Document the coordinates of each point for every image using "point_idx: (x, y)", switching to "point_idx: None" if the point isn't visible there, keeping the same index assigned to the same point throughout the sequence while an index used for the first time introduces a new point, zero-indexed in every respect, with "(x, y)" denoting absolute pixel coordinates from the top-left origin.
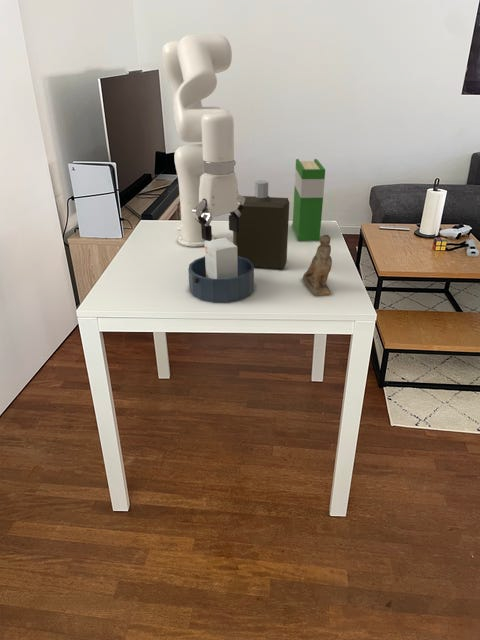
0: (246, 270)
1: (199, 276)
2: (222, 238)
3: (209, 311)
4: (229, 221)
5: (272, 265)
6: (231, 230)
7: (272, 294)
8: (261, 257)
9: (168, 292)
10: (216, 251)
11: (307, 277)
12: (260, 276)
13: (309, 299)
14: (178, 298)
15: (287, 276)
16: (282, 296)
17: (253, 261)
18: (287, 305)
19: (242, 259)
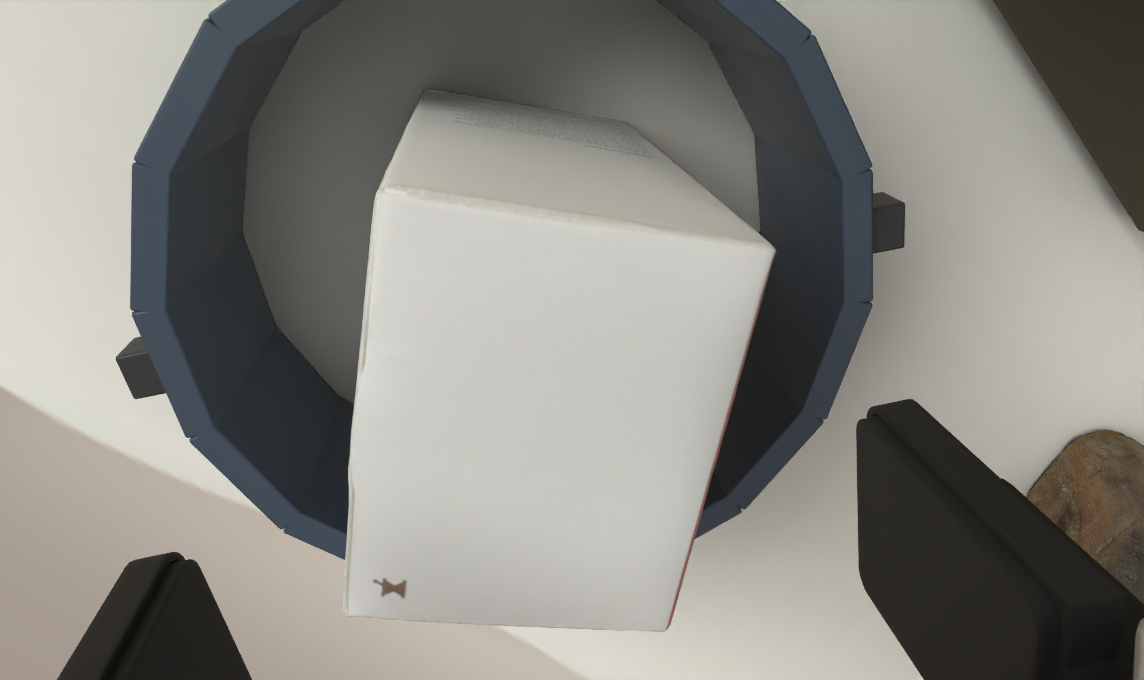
0: (795, 273)
1: (184, 401)
2: (713, 265)
3: (232, 496)
4: (952, 534)
5: (1117, 183)
6: (858, 468)
7: (748, 506)
8: (1127, 117)
9: (5, 10)
10: (351, 607)
11: (1077, 515)
12: (915, 219)
13: (863, 650)
14: (69, 188)
15: (1056, 338)
16: (776, 555)
17: (1052, 46)
18: (711, 648)
19: (837, 248)
